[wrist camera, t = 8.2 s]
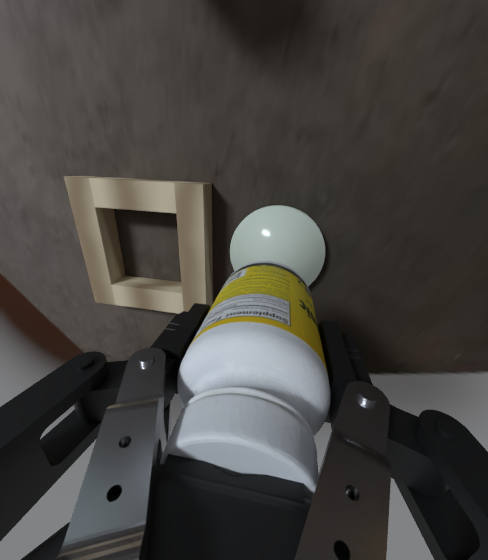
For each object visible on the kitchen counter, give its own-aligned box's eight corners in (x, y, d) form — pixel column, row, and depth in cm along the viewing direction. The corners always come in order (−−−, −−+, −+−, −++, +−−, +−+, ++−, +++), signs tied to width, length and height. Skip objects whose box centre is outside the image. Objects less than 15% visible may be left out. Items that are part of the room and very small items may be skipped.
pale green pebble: (332, 208, 21) (334, 209, 20) (315, 298, 25) (316, 301, 24) (232, 201, 22) (230, 202, 21) (230, 287, 26) (229, 291, 25)
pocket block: (211, 183, 22) (202, 184, 20) (213, 305, 27) (206, 317, 25) (85, 176, 24) (63, 176, 21) (110, 292, 29) (95, 302, 27)
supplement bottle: (307, 339, 15) (334, 568, 6) (225, 332, 16) (149, 524, 7) (317, 259, 13) (377, 441, 4) (221, 255, 14) (104, 399, 5)
